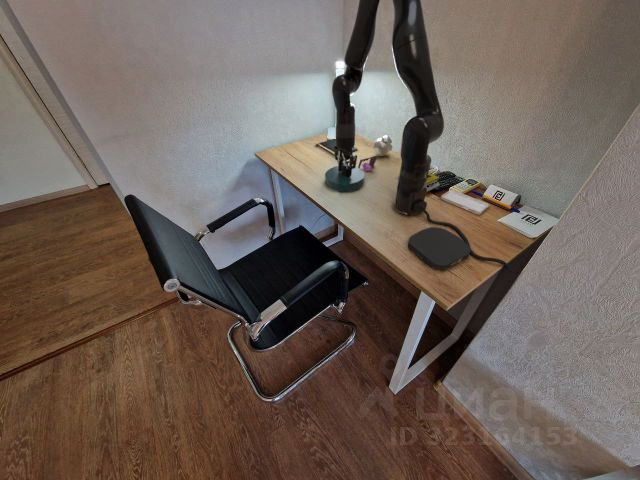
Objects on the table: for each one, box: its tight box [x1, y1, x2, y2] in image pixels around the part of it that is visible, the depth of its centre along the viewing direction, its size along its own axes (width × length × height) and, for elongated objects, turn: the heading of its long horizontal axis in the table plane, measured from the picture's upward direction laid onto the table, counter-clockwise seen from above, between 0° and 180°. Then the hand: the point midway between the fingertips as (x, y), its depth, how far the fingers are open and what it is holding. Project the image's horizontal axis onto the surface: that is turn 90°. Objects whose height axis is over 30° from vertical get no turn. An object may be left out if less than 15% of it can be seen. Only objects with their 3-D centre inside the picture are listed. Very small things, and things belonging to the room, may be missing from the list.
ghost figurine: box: [372, 135, 393, 157], centre depth 130 cm, size 9×10×10 cm
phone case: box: [440, 189, 490, 216], centre depth 98 cm, size 7×1×15 cm
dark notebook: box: [315, 138, 358, 157], centre depth 143 cm, size 20×2×15 cm
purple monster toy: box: [357, 155, 378, 172], centre depth 120 cm, size 7×5×9 cm
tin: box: [325, 178, 365, 194], centre depth 114 cm, size 16×16×4 cm
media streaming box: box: [407, 226, 471, 271], centre depth 80 cm, size 15×15×3 cm
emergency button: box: [425, 172, 441, 193], centre depth 111 cm, size 9×4×15 cm
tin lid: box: [324, 162, 366, 185], centre depth 111 cm, size 17×17×6 cm
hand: (344, 173), depth 112 cm, fingers open, 5 cm apart
